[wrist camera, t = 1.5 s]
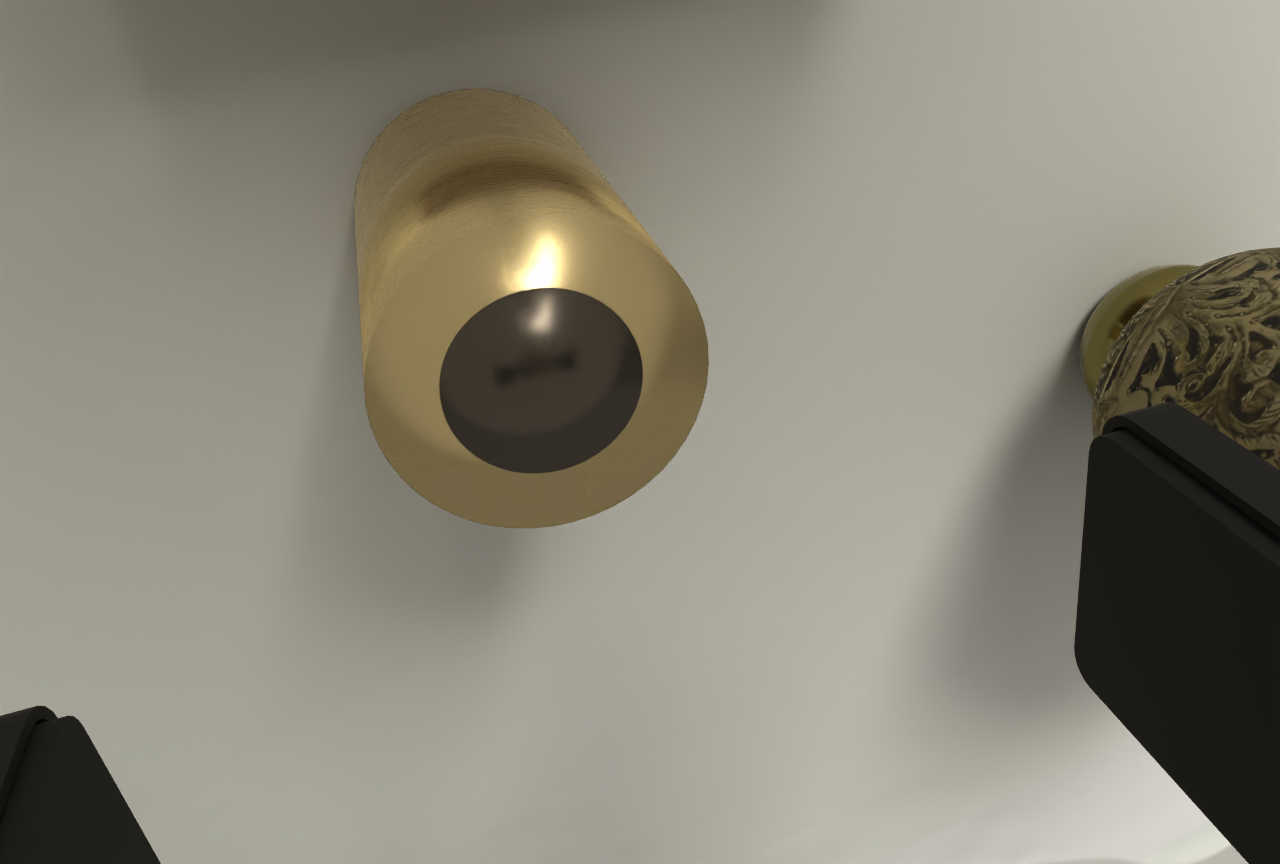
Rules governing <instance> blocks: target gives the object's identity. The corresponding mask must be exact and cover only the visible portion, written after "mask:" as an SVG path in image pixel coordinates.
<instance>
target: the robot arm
mask: <svg viewBox="0 0 1280 864" xmlns="http://www.w3.org/2000/svg"><path fill="white" fill-rule="evenodd" d="M1074 649H1075V658H1076V662H1077V665H1078V668H1079V670H1080V673H1081V675H1082V676H1083V678H1084V680H1085V681H1086V683H1087V684H1088V685H1089V687H1090V688H1091V689H1092V690H1093V691H1094V692H1095V694H1096V695H1097V696H1098V697H1099V698H1100V699H1101V700H1102V701H1103V702H1104V704H1105V705H1106V706H1107V707H1108V708H1109V709H1110V710H1111V711H1112V712H1113V714H1114V715H1115V716H1116V717H1117V718H1118V719H1119V720H1120V721H1121V722H1122V724H1123V725H1124V726H1125V727H1126V728H1127V729H1128V730H1129V731H1130V732H1131V734H1132V735H1133V736H1134V737H1135V738H1136V739H1137V740H1138V741H1139V742H1140V743H1141V745H1142V746H1143V747H1144V748H1145V749H1146V750H1147V751H1148V752H1149V753H1150V755H1151V756H1152V757H1153V758H1154V759H1155V760H1156V761H1157V762H1158V763H1159V765H1160V766H1161V767H1162V768H1163V769H1164V770H1165V771H1166V772H1167V773H1168V775H1169V776H1170V777H1171V778H1172V779H1173V780H1174V781H1175V782H1176V783H1177V785H1178V786H1179V787H1180V788H1181V789H1182V790H1183V791H1184V792H1185V793H1186V795H1187V796H1188V797H1189V798H1190V799H1191V800H1192V801H1193V802H1194V803H1195V805H1196V806H1197V807H1198V808H1199V809H1200V810H1201V811H1202V812H1203V813H1204V815H1205V816H1206V817H1207V818H1208V819H1209V820H1210V821H1211V822H1212V823H1213V825H1214V826H1215V827H1216V828H1217V829H1218V830H1219V831H1220V832H1221V833H1222V835H1223V836H1224V837H1225V838H1226V839H1227V840H1228V841H1229V842H1230V843H1231V845H1232V846H1233V847H1234V848H1235V849H1236V850H1237V851H1238V852H1239V853H1240V854H1241V856H1242V857H1243V858H1244V859H1245V860H1246V861H1247V862H1248V863H1249V864H1280V470H1278V469H1277V468H1275V467H1274V466H1272V465H1271V464H1269V463H1268V462H1266V461H1265V460H1263V459H1262V458H1260V457H1259V456H1257V455H1256V454H1254V453H1252V452H1251V451H1249V450H1248V449H1246V448H1245V447H1243V446H1242V445H1240V444H1239V443H1237V442H1236V441H1234V440H1233V439H1231V438H1230V437H1228V436H1227V435H1225V434H1224V433H1222V432H1220V431H1219V430H1217V429H1216V428H1214V427H1213V426H1211V425H1210V424H1208V423H1207V422H1205V421H1204V420H1202V419H1201V418H1199V417H1198V416H1196V415H1195V414H1193V413H1191V412H1190V411H1188V410H1187V409H1185V408H1184V407H1182V406H1180V405H1178V404H1175V403H1161V404H1157V405H1153V406H1150V407H1146V408H1142V409H1139V410H1135V411H1131V412H1127V413H1124V414H1120V415H1116V416H1114V417H1112V418H1110V419H1109V420H1107V422H1106V424H1105V425H1104V427H1103V430H1102V435H1101V436H1098V437H1096V438H1095V439H1094V440H1093V441H1092V443H1091V445H1090V450H1089V460H1088V473H1087V486H1086V500H1085V513H1084V526H1083V539H1082V553H1081V566H1080V579H1079V592H1078V605H1077V619H1076V632H1075V645H1074ZM0 864H161V863H160V861H159V860H158V858H157V856H156V854H155V853H154V851H153V849H152V847H151V845H150V844H149V842H148V840H147V838H146V837H145V835H144V833H143V831H142V829H141V828H140V826H139V824H138V822H137V821H136V819H135V817H134V815H133V814H132V812H131V810H130V808H129V806H128V805H127V803H126V801H125V799H124V798H123V796H122V794H121V792H120V791H119V789H118V787H117V785H116V783H115V782H114V780H113V778H112V776H111V775H110V773H109V771H108V769H107V768H106V766H105V764H104V762H103V760H102V759H101V757H100V755H99V753H98V752H97V750H96V748H95V746H94V744H93V743H92V741H91V739H90V737H89V736H88V734H87V732H86V730H85V729H84V727H83V725H82V724H81V723H80V721H79V720H78V719H76V718H75V717H74V716H65V717H62V718H57V716H56V715H55V714H54V712H53V711H51V710H50V709H48V708H47V707H46V706H35V707H32V708H28V709H24V710H21V711H17V712H13V713H9V714H6V715H2V716H0Z"/></svg>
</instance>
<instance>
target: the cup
mask: <svg viewBox="0 0 1280 864" xmlns="http://www.w3.org/2000/svg"><path fill="white" fill-rule="evenodd" d="M1079 364H1080V370H1081V374H1082V377H1083V380H1084V383H1085V385H1086V387H1087V389H1088V392H1089V394H1090V395H1091V397H1092V398H1093V410H1092V423H1093V436H1094V439H1095V438H1096V437H1098V436H1101V435H1102V430H1103V427H1104V425H1105V424H1106V422H1107V420H1109V419H1110V418H1112V417H1114V416H1116V415H1120V414H1124V413H1127V412H1131V411H1135V410H1139V409H1142V408H1146V407H1150V406H1153V405H1157V404H1161V403H1175V404H1178V405H1180V406H1182V407H1184V408H1185V409H1187V410H1188V411H1190V412H1191V413H1193V414H1195V415H1196V416H1198V417H1199V418H1201V419H1202V420H1204V421H1205V422H1207V423H1208V424H1210V425H1211V426H1213V427H1214V428H1216V429H1217V430H1219V431H1220V432H1222V433H1224V434H1225V435H1227V436H1228V437H1230V438H1231V439H1233V440H1234V441H1236V442H1237V443H1239V444H1240V445H1242V446H1243V447H1245V448H1246V449H1248V450H1249V451H1251V452H1252V453H1254V454H1256V455H1257V456H1259V457H1260V458H1262V459H1263V460H1265V461H1266V462H1268V463H1269V464H1271V465H1272V466H1274V467H1275V468H1277V469H1278V470H1280V248H1268V249H1258V250H1250V251H1245V252H1241V253H1237V254H1233V255H1229V256H1226V257H1222V258H1219V259H1217V260H1214V261H1211V262H1208V263H1206V264H1204V265H1202V266H1194V265H1166V266H1158V267H1154V268H1150V269H1147V270H1144V271H1141V272H1139V273H1137V274H1134V275H1133V276H1131V277H1129V278H1127V279H1126V280H1124V281H1123V282H1121V283H1120V284H1119V285H1117V286H1116V287H1115V288H1114V289H1112V290H1111V291H1110V292H1109V293H1108V294H1107V295H1106V296H1105V297H1104V299H1103V300H1102V301H1101V302H1100V303H1099V305H1098V306H1097V307H1096V309H1095V310H1094V312H1093V313H1092V315H1091V316H1090V318H1089V320H1088V322H1087V324H1086V327H1085V329H1084V331H1083V335H1082V338H1081V342H1080V349H1079Z"/></svg>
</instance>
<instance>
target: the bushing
mask: <svg viewBox="0 0 1280 864" xmlns="http://www.w3.org/2000/svg"><path fill="white" fill-rule="evenodd" d="M354 217H355V235H356V252H357V270H358V287H359V304H360V322H361V339H362V357H363V374H364V390H365V402H366V408H367V413H368V417H369V421H370V425H371V428H372V430H373V433H374V435H375V438H376V440H377V443H378V445H379V447H380V448H381V450H382V452H383V454H384V455H385V457H386V459H387V460H388V462H389V463H390V465H391V466H392V467H393V468H394V470H395V471H396V472H397V473H398V474H399V476H400V477H401V478H402V479H403V480H404V481H405V482H406V483H407V484H408V485H409V486H410V487H411V488H413V489H414V490H415V491H416V492H417V493H418V494H420V495H421V496H423V497H424V498H426V499H427V500H428V501H430V502H431V503H433V504H434V505H436V506H438V507H440V508H442V509H444V510H446V511H448V512H450V513H452V514H454V515H457V516H460V517H462V518H465V519H468V520H470V521H474V522H478V523H482V524H487V525H491V526H499V527H507V528H539V527H549V526H556V525H560V524H565V523H570V522H574V521H577V520H580V519H584V518H587V517H590V516H593V515H595V514H597V513H600V512H602V511H604V510H606V509H609V508H611V507H613V506H615V505H616V504H618V503H620V502H621V501H623V500H625V499H627V498H628V497H630V496H631V495H633V494H634V493H635V492H637V491H638V490H640V489H641V488H642V487H644V486H645V485H646V484H648V483H649V482H650V481H651V480H652V479H653V478H654V477H655V476H656V475H657V474H658V473H660V472H661V471H662V470H663V468H664V467H665V466H666V465H667V464H668V463H669V461H670V460H671V459H672V458H673V457H674V456H675V454H676V453H677V451H678V450H679V449H680V447H681V446H682V444H683V443H684V441H685V440H686V438H687V436H688V434H689V432H690V431H691V429H692V427H693V425H694V423H695V421H696V418H697V416H698V413H699V410H700V407H701V405H702V402H703V398H704V393H705V389H706V384H707V376H708V365H709V360H708V343H707V337H706V332H705V327H704V323H703V320H702V317H701V314H700V311H699V309H698V306H697V304H696V302H695V300H694V298H693V296H692V294H691V292H690V290H689V288H688V287H687V285H686V284H685V283H684V281H683V280H682V279H681V277H680V276H679V274H678V273H677V272H676V270H675V269H674V268H673V266H672V265H671V264H670V262H669V261H668V260H667V259H666V257H665V256H664V255H663V253H662V252H661V251H660V249H659V248H658V247H657V245H656V244H655V243H654V241H653V240H652V239H651V238H650V236H649V235H648V234H647V232H646V231H645V230H644V228H643V227H642V226H641V224H640V223H639V222H638V220H637V219H636V218H635V216H634V215H633V214H632V213H631V211H630V210H629V209H628V207H627V206H626V205H625V203H624V202H623V201H622V199H621V198H620V197H619V195H618V194H617V193H616V192H615V190H614V189H613V188H612V186H611V185H610V184H609V182H608V181H607V180H606V178H605V177H604V176H603V174H602V173H601V172H600V170H599V169H598V168H597V167H596V165H595V164H594V163H593V161H592V160H591V159H590V157H589V156H588V155H587V153H586V152H585V151H584V149H583V148H582V147H581V146H580V144H579V143H578V142H577V140H576V139H575V138H574V136H573V135H572V134H571V132H570V131H569V130H568V129H567V128H566V127H565V126H564V125H563V124H562V123H561V122H560V121H559V120H558V119H557V118H555V117H554V116H553V115H552V114H550V113H549V112H548V111H547V110H545V109H543V108H541V107H540V106H538V105H536V104H535V103H533V102H531V101H529V100H526V99H524V98H522V97H519V96H517V95H513V94H509V93H506V92H502V91H495V90H488V89H465V90H457V91H450V92H447V93H443V94H439V95H436V96H433V97H431V98H428V99H426V100H424V101H421V102H419V103H418V104H416V105H414V106H413V107H411V108H409V109H408V110H406V111H404V112H403V113H402V114H401V115H399V116H398V117H397V118H396V119H394V120H393V121H392V122H391V123H390V124H389V125H388V126H387V127H386V128H385V129H384V130H383V131H382V133H381V134H380V135H379V136H378V138H377V139H376V141H375V142H374V143H373V145H372V146H371V148H370V150H369V152H368V154H367V156H366V158H365V160H364V161H363V164H362V167H361V170H360V173H359V176H358V180H357V185H356V190H355V200H354Z"/></svg>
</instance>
